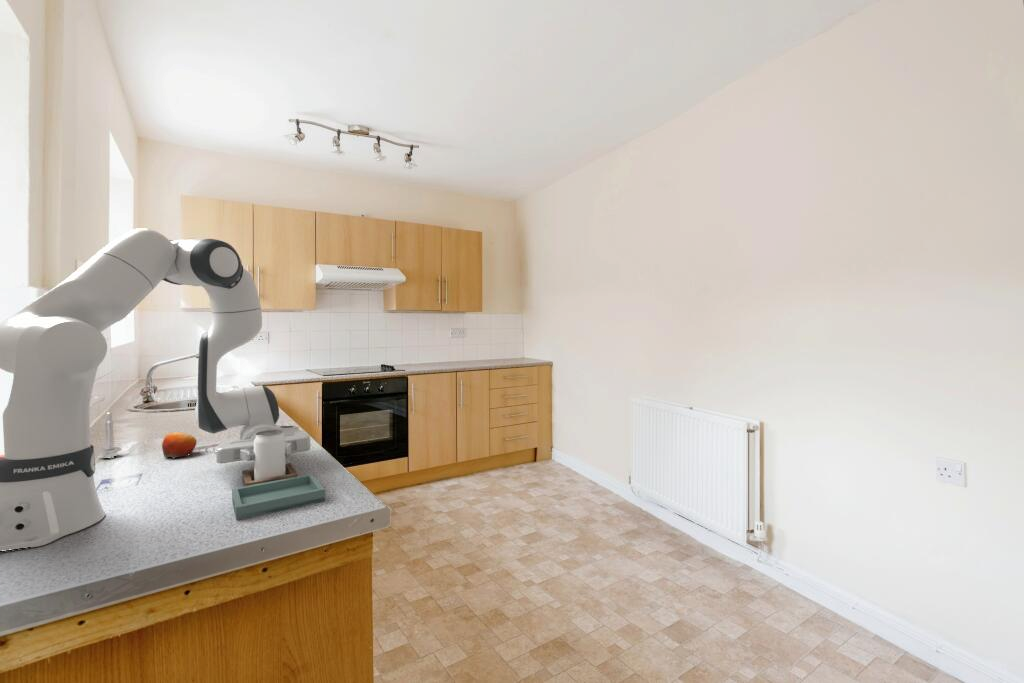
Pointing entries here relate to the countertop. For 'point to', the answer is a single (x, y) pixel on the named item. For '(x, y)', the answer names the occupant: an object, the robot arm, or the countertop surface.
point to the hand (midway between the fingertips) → (268, 454)
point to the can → (269, 454)
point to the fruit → (178, 444)
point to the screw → (109, 439)
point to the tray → (276, 496)
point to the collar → (249, 478)
